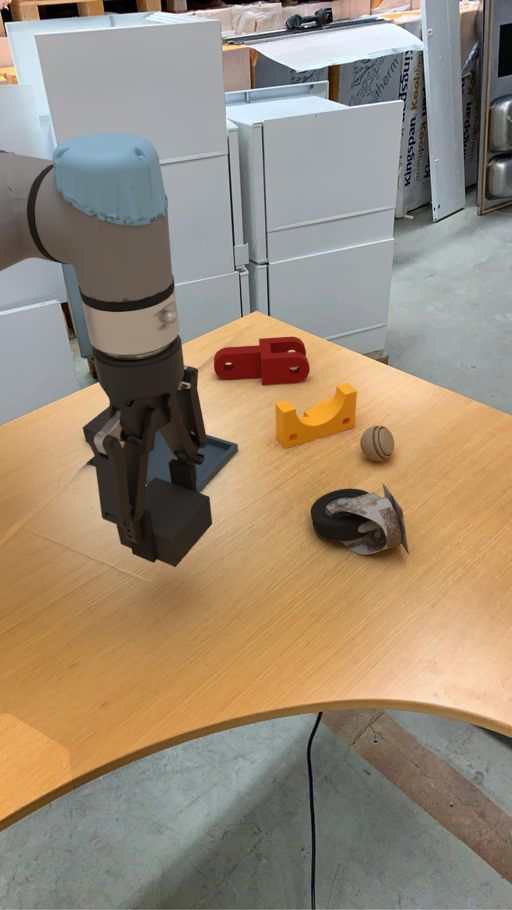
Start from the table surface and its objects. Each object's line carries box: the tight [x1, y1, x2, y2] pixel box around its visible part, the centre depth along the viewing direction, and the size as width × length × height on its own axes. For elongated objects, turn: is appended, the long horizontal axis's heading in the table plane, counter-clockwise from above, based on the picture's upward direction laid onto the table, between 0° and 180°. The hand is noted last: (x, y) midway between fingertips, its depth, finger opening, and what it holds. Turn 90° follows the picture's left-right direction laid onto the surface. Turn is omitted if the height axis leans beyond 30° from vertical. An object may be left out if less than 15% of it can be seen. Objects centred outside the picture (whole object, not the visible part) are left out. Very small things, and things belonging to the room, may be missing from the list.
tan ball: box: [359, 425, 395, 462], centre depth 92 cm, size 5×5×5 cm
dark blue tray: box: [86, 430, 239, 493], centre depth 95 cm, size 21×12×2 cm, turn 61°
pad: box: [82, 406, 142, 443], centre depth 97 cm, size 7×7×4 cm
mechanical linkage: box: [213, 336, 311, 386], centre depth 112 cm, size 16×7×5 cm, turn 93°
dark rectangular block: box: [115, 477, 213, 568], centre depth 68 cm, size 7×7×4 cm
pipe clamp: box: [274, 382, 358, 450], centre depth 98 cm, size 12×4×6 cm, turn 114°
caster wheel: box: [309, 482, 410, 555], centre depth 80 cm, size 7×11×10 cm
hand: (166, 531), depth 69 cm, fingers closed on dark rectangular block, 7 cm apart
